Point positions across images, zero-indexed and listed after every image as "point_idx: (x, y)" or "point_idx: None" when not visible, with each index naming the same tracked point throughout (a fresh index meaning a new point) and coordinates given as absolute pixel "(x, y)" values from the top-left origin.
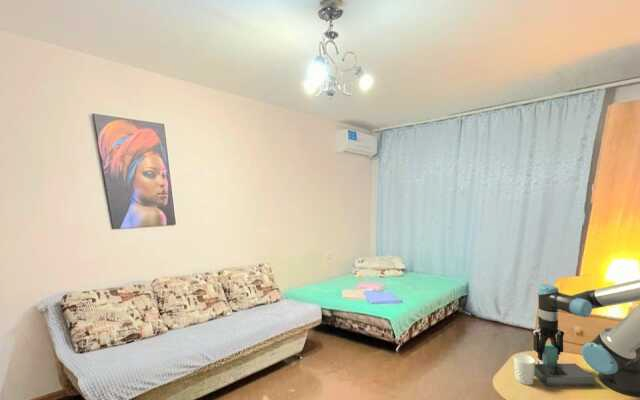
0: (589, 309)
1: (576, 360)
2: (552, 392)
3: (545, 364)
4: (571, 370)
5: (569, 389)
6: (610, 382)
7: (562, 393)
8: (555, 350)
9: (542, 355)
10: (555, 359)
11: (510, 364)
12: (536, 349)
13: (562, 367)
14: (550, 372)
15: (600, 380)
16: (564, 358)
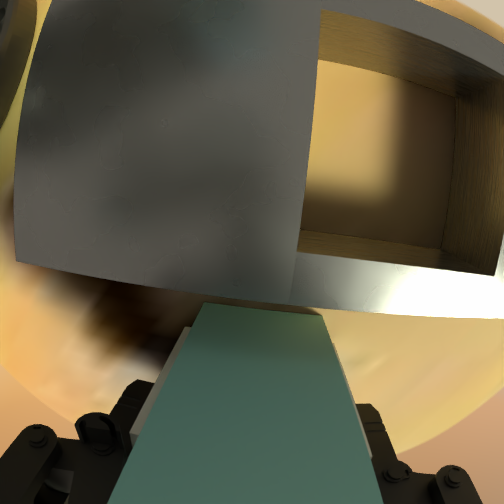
0: None
1: (2, 358)
2: (499, 39)
3: (424, 304)
4: (169, 99)
5: None
6: (6, 8)
7: (447, 3)
8: (161, 499)
9: None
10: (203, 372)
11: (498, 387)
12: (475, 499)
13: (240, 192)
14: (360, 242)
15: (9, 92)
16: (51, 399)
